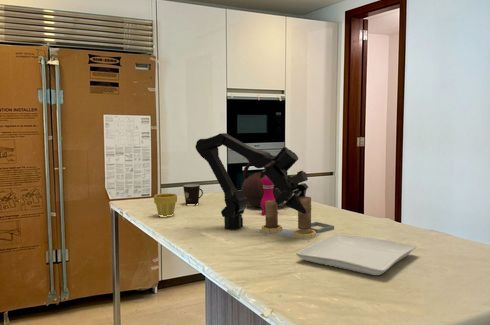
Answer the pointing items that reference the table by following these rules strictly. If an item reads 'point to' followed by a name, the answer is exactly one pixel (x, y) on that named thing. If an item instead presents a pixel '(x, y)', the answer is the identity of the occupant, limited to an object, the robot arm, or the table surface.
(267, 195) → the pink bowling pin
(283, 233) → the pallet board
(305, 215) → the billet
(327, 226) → the gray square tray
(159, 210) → the plant pot
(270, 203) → the cylinder
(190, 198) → the coffee mug
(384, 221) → the table surface
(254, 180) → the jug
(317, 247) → the square plate
